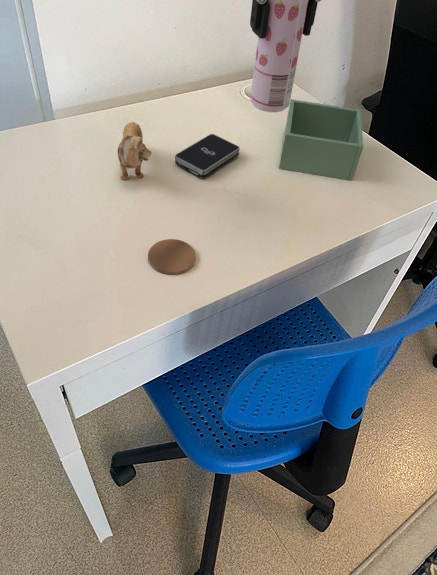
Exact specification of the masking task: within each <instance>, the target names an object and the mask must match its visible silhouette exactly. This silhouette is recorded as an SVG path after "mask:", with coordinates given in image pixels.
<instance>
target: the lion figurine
mask: <svg viewBox="0 0 437 575" xmlns="http://www.w3.org/2000/svg"><path fill="white" fill-rule="evenodd" d="M121 138H122V139H121V141H120V143H119V144H118V147H117V156H118V161H119V166H120V170H121V175H120V179H121V180H122V181H127V180H128V179H129V173H128V169H134V174H135V177H136V179H142V178H144V174H143V173H142V170H141V168H142V164H143V161H144V162H145V163H146V162H149V158H150V157H151V156H152V154H153V151H151V150H150V149H149V148H148V147H147V146H146V144H145V143H144V140H143V139H144V138H143V131H142V128H141V126H140V124H138V123H136V122H134V121H131V122H128V123H127V124H126V125H125V126H124V128H123V131H122V137H121Z"/></svg>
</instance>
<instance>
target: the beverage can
mask: <svg viewBox="0 0 437 575" xmlns="http://www.w3.org/2000/svg"><path fill="white" fill-rule="evenodd" d="M267 3H268V4H269V5H270V11H269V18H268V25H267V33H266V37H265V38H261V39H260V38H259V37H258V36H257V43H256V52H255V59H254V65H253V66H254V67H253V74H252V75H253V77H252V82H251V89H250V90H251V91H250V99H249V100H250V103H251V104H252V106H253V107H254V108H256V109H257V110H259V111H262V112H265V113H281V112H283V111H285V110H286V109H288V108H289V105H290V100H291V99H292V93H293V88H294V83H295V76H296V71H297V65H298V61H299V60H298V59H299V53H300V50H301V43H302V37H303V34H302V33H303V28H304V22H305V17H306V11H307V6H308V0H267Z"/></svg>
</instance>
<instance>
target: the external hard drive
mask: <svg viewBox="0 0 437 575" xmlns="http://www.w3.org/2000/svg"><path fill="white" fill-rule="evenodd" d="M239 155H240V146H239V145H237V144H236V143H233V142H232V141H229V140H227V139H225V138H223V137H221V136H219V135H217V134H214V133H210V134H208V135H206V136H204V137H202V138H201V139H199V140H197V141H196V142H195V143H193V144H191V145H189V146H187V147H186V148H184V149H182V150H181V151H179V152H176V154H175V155H174V162H175V165H177V166H178V167H180V168H182V169H184V170H186V171H187V172H190V173H192V174H193V175H195V176H197V177H199V178H201V179H205V178H206V177H208V176H209V175H211V174H212V173H214V172H215V171H217V170H218V169H220V168H221V167H223V166H224V165H226V164H228V163H229V162H230V161H232V160H234V159H236V158H237V157H238V156H239Z"/></svg>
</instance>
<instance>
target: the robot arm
mask: <svg viewBox="0 0 437 575" xmlns="http://www.w3.org/2000/svg"><path fill="white" fill-rule="evenodd" d="M321 1H322V0H308V6H307V11H306V17H305V22H304V28H303V33H302V36H305V37H308V36H310V35H311V32H312V31H311V30H312V28H313V27H312V26H314V23H315V20H316V19H315V18H316V14H317V8H318V5H319V4H318V3H320V2H321ZM269 11H270V5H269V4H268V3H267V0H251V11H250V19H249V25H250V28H251V31H252V32H253V33H254V34H255V36H257V38H258V37H259V38H260V39H261V38H265V37H266V33H267V25H268V18H269Z"/></svg>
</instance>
